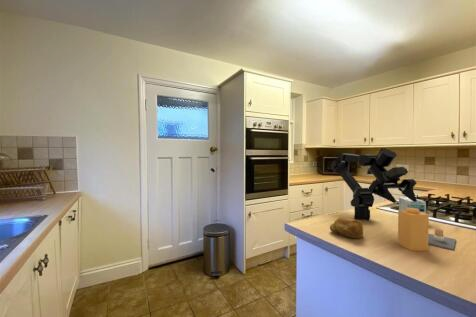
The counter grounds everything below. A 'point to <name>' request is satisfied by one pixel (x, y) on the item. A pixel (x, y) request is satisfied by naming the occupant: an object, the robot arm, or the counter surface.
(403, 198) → the light bulb box
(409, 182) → the robot arm
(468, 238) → the counter surface
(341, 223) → the bread roll
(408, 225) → the orange toy brick
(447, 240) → the plate
